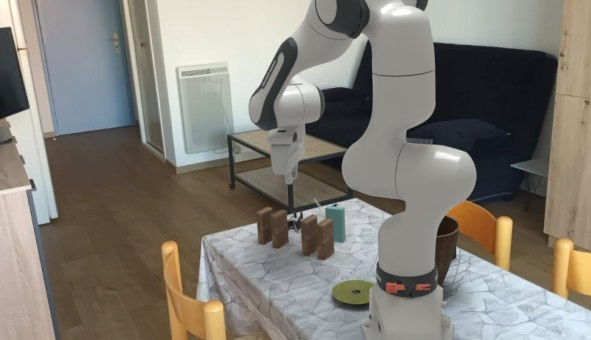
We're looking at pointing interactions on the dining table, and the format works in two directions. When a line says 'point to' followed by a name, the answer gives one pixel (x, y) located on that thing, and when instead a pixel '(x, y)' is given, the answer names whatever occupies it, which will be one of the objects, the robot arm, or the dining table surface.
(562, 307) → the dining table surface
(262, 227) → the walnut tile
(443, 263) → the plant pot
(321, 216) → the clip-on lamp
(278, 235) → the walnut tile
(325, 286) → the dining table surface
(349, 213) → the dining table surface
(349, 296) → the green disc
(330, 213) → the teal tile
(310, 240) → the walnut tile
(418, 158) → the robot arm
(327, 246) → the walnut tile
